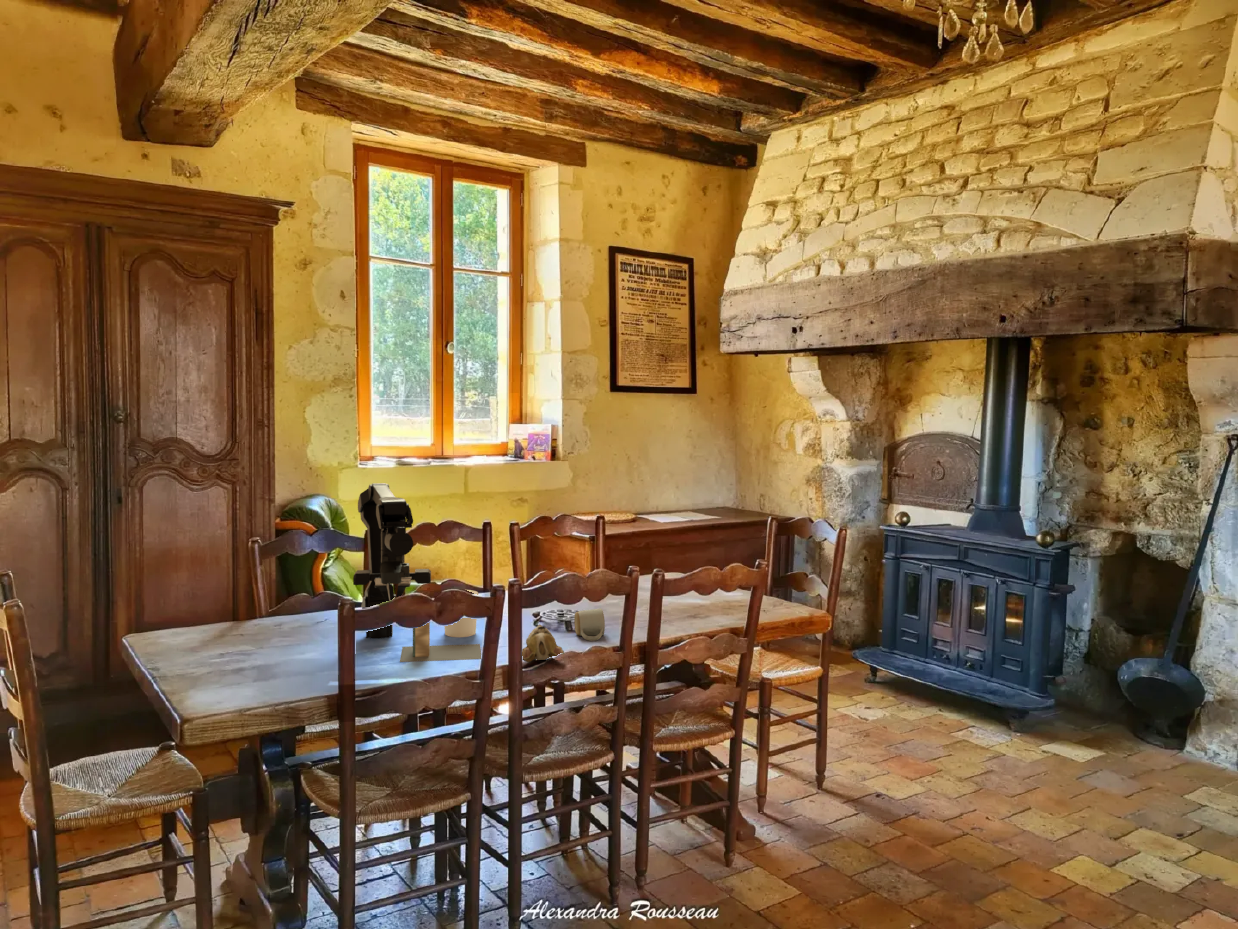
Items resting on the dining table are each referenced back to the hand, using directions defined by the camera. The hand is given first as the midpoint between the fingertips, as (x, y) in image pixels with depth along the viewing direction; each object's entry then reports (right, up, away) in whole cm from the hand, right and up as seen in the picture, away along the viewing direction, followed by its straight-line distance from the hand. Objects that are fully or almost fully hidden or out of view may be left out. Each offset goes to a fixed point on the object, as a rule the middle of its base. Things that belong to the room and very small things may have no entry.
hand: (393, 610), depth 226 cm
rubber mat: (+12, -12, +3) cm, 17 cm away
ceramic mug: (+49, -11, +25) cm, 56 cm away
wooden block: (+7, -11, +2) cm, 13 cm away
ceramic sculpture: (+37, -13, +2) cm, 40 cm away
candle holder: (+13, -11, +23) cm, 28 cm away
